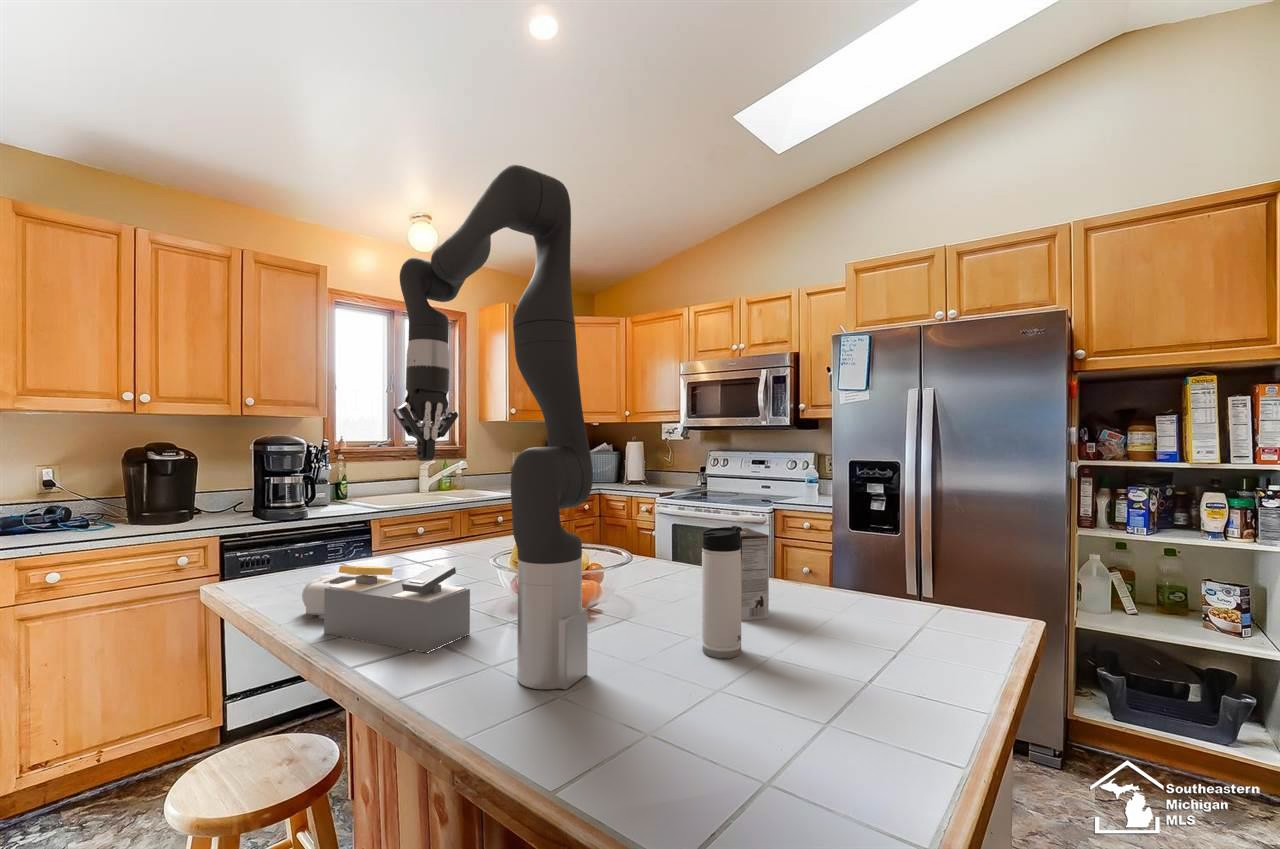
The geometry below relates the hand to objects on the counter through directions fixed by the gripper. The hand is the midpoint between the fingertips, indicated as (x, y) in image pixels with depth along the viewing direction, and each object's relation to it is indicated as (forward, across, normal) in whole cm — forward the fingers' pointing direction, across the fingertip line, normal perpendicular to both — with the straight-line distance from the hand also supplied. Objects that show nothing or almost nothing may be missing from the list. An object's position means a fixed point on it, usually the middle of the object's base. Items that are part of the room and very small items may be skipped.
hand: (425, 460), depth 108 cm
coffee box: (+30, +41, -45) cm, 68 cm away
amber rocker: (+20, -5, +9) cm, 23 cm away
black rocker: (+20, -3, -6) cm, 21 cm away
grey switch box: (+31, -4, +2) cm, 31 cm away
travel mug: (+31, +20, -50) cm, 62 cm away
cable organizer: (+30, -1, +24) cm, 39 cm away
